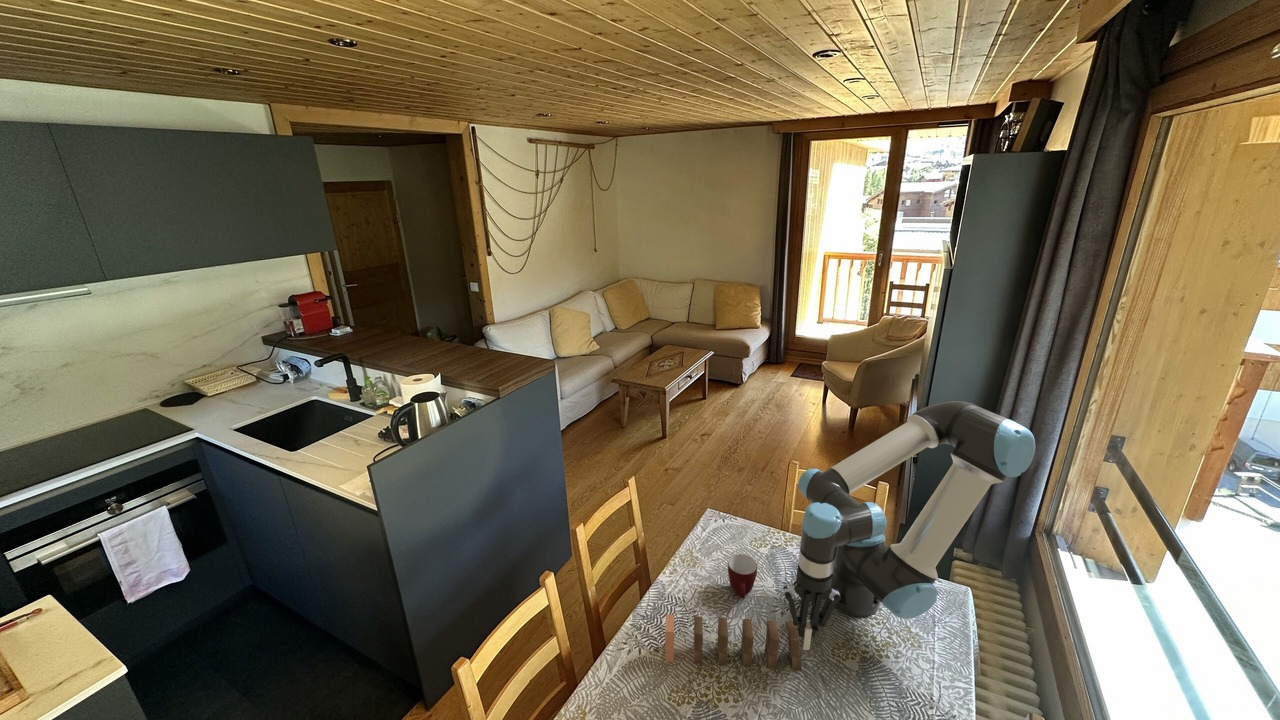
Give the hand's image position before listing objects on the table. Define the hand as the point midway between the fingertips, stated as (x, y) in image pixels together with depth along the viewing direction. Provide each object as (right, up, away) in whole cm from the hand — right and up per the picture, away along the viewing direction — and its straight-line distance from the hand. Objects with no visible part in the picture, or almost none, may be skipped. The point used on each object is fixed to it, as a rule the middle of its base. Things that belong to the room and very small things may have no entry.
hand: (804, 644), depth 119 cm
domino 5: (-8, -5, +3) cm, 10 cm away
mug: (-11, +1, +22) cm, 25 cm away
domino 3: (-20, -5, +4) cm, 21 cm away
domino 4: (-14, -5, +3) cm, 15 cm away
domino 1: (-33, -5, +5) cm, 33 cm away
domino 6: (-2, -5, +2) cm, 6 cm away
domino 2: (-26, -5, +4) cm, 26 cm away
